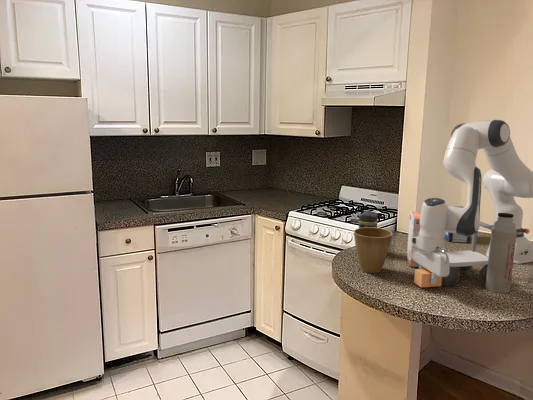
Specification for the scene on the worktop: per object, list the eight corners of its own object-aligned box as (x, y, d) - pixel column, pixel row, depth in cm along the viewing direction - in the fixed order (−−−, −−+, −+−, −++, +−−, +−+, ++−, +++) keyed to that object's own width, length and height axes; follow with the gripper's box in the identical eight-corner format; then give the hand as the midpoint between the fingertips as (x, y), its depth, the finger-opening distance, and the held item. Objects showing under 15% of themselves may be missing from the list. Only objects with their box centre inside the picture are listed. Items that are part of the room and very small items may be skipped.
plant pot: (349, 263, 191) (351, 226, 188) (385, 264, 191) (387, 227, 188) (355, 276, 177) (357, 236, 174) (393, 277, 176) (396, 237, 173)
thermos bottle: (514, 291, 163) (524, 215, 158) (499, 294, 160) (507, 217, 155) (495, 283, 170) (504, 210, 165) (480, 286, 167) (488, 212, 162)
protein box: (460, 235, 239) (463, 206, 237) (470, 243, 224) (473, 212, 222) (440, 234, 241) (442, 205, 238) (448, 242, 226) (450, 211, 223)
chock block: (433, 281, 169) (434, 268, 168) (441, 286, 165) (442, 272, 164) (413, 282, 168) (414, 269, 167) (421, 287, 163) (422, 274, 162)
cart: (470, 268, 187) (475, 218, 184) (498, 282, 171) (504, 228, 167) (417, 271, 183) (421, 220, 179) (441, 287, 166) (446, 231, 162)
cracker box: (424, 268, 187) (428, 218, 183) (409, 267, 188) (413, 217, 184) (420, 258, 200) (424, 211, 196) (406, 257, 201) (409, 210, 197)
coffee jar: (360, 247, 214) (362, 209, 211) (377, 250, 211) (379, 211, 207) (355, 253, 206) (357, 213, 202) (372, 255, 202) (374, 215, 199)
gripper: (456, 251, 154) (452, 290, 157) (424, 235, 174) (421, 270, 176) (439, 252, 153) (435, 291, 155) (408, 236, 172) (406, 271, 175)
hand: (427, 280), depth 166 cm, fingers closed on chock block, 5 cm apart
